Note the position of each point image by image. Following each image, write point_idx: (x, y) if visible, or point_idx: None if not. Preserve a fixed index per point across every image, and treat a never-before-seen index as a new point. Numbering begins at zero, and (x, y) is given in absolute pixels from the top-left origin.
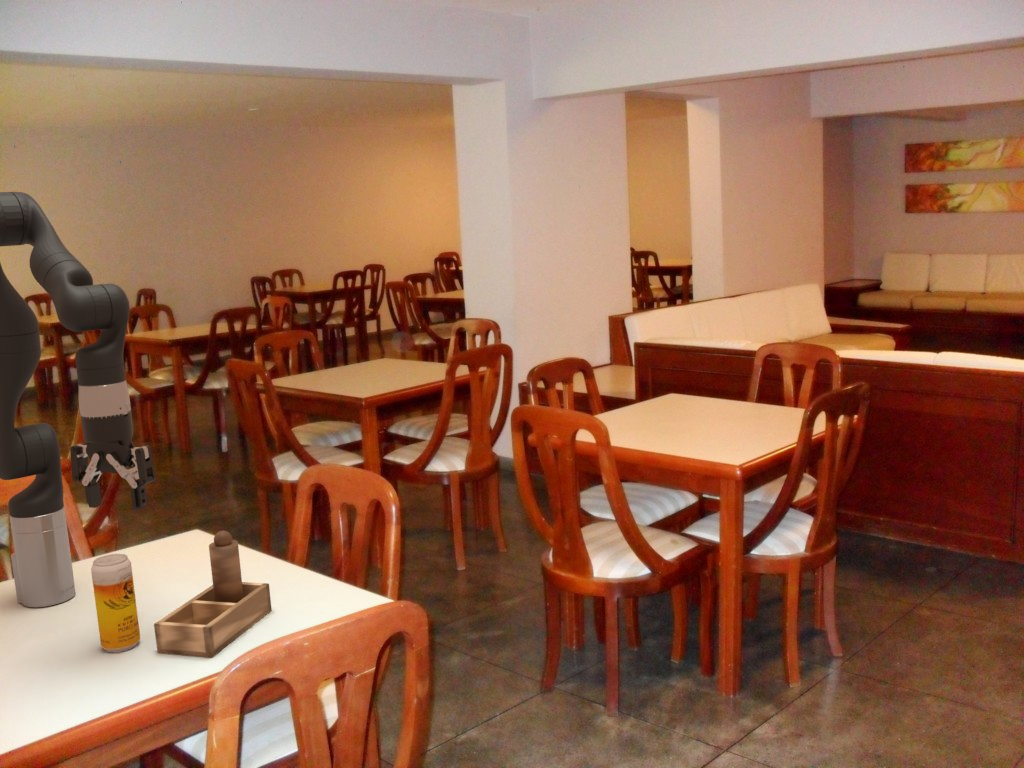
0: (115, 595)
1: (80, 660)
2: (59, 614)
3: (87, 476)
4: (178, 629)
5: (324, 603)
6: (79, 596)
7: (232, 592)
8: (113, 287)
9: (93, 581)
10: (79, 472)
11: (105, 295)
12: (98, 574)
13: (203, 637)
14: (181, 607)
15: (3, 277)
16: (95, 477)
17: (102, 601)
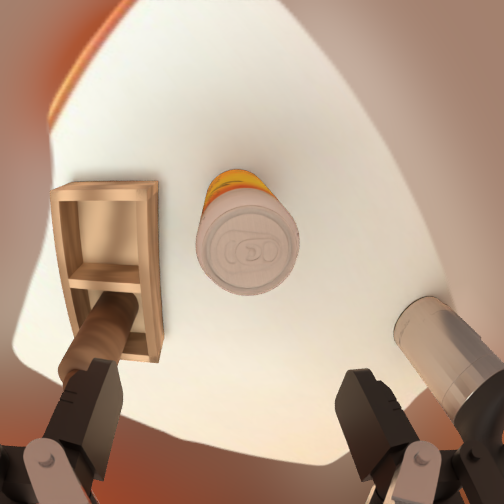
0: (216, 192)
1: (272, 142)
2: (390, 286)
3: (418, 491)
4: (102, 188)
5: (51, 348)
6: (387, 336)
7: (89, 313)
8: None
9: (275, 198)
10: (466, 488)
11: None
12: (254, 194)
13: (67, 187)
14: (143, 263)
15: None
16: (383, 499)
17: (245, 181)
